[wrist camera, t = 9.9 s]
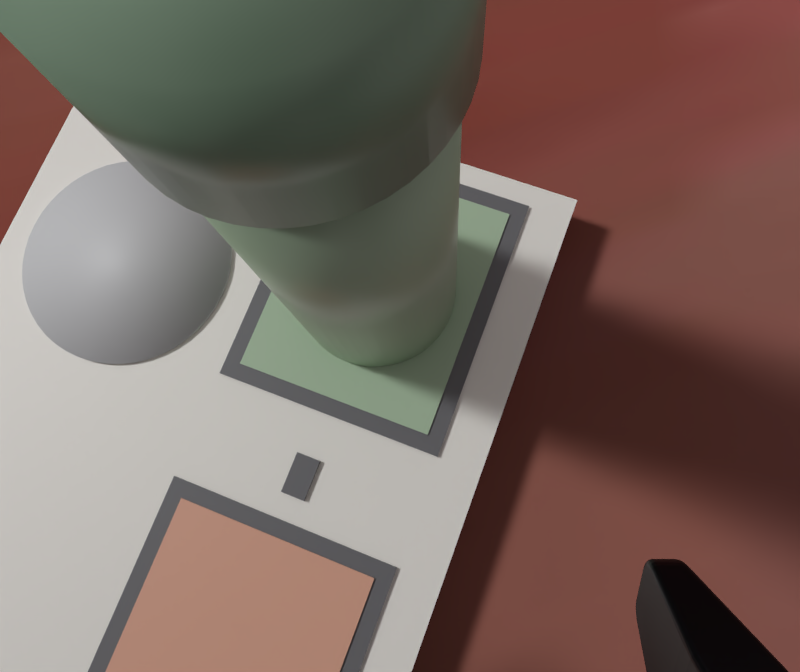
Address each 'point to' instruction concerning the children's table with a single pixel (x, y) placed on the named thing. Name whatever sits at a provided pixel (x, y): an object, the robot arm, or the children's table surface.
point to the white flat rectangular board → (232, 435)
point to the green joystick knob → (290, 139)
